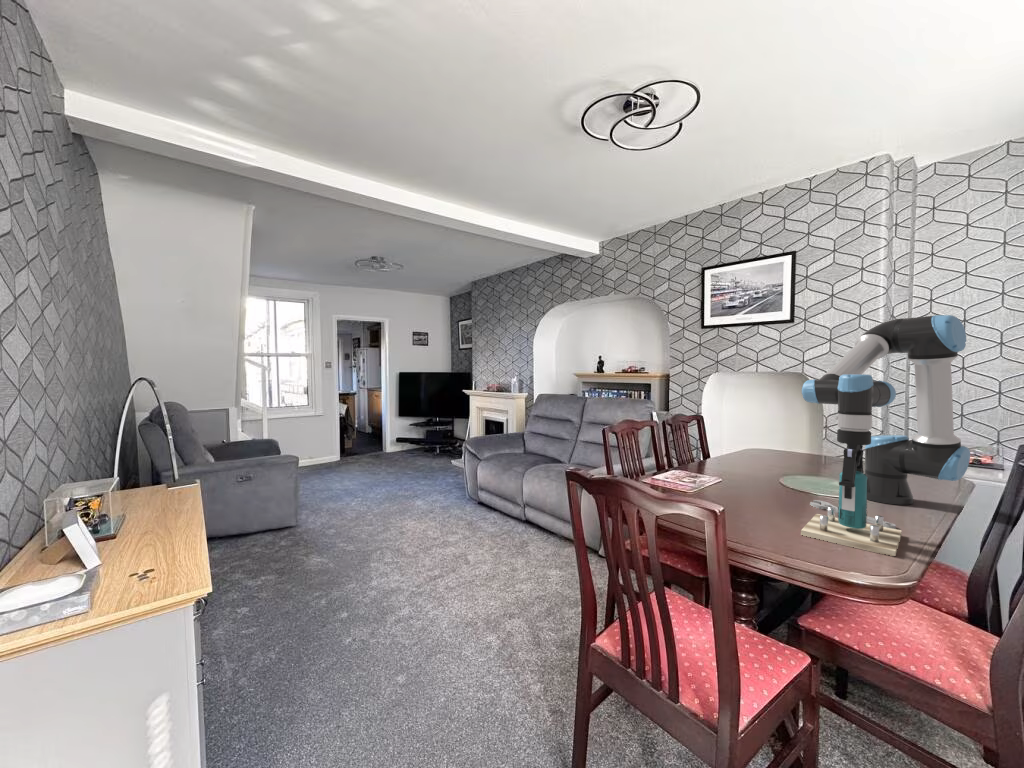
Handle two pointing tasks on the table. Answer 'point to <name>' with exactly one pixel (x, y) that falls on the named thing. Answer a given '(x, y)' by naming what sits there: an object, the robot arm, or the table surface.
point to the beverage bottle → (859, 515)
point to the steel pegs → (873, 528)
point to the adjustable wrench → (825, 506)
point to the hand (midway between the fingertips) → (852, 504)
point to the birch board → (854, 536)
